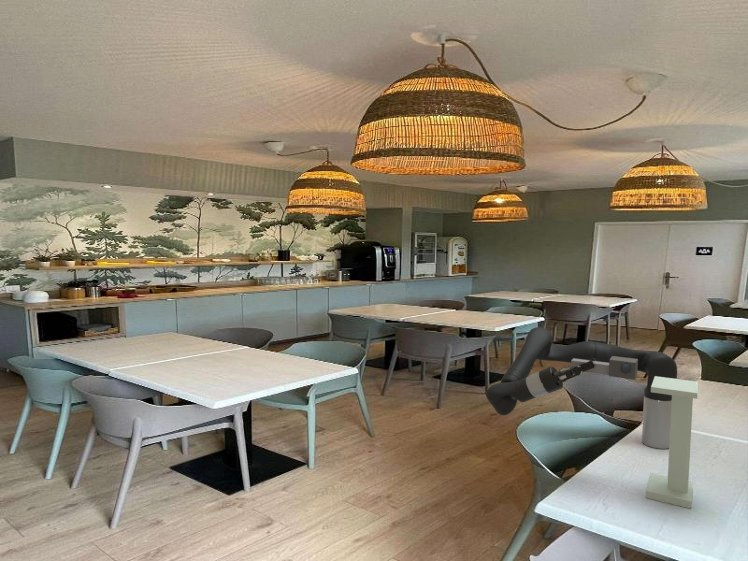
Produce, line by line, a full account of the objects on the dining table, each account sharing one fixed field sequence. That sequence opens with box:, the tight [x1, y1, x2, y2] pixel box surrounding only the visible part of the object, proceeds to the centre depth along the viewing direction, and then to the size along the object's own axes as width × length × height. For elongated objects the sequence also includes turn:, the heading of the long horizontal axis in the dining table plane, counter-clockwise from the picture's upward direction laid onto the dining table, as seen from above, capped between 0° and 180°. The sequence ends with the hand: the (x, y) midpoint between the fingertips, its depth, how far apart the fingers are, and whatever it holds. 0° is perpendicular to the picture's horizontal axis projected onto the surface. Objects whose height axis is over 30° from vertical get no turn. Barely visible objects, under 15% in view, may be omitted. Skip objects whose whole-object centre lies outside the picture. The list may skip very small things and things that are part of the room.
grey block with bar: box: [570, 356, 638, 381], centre depth 156 cm, size 7×18×5 cm, turn 57°
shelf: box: [645, 376, 699, 509], centre depth 147 cm, size 14×11×32 cm
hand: (594, 362), depth 158 cm, fingers closed on grey block with bar, 3 cm apart
